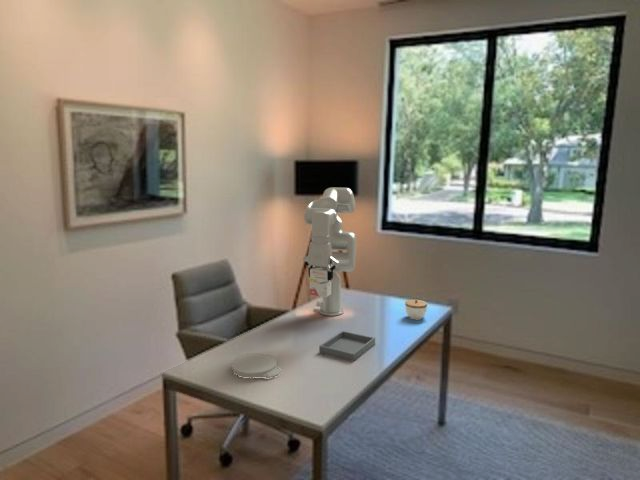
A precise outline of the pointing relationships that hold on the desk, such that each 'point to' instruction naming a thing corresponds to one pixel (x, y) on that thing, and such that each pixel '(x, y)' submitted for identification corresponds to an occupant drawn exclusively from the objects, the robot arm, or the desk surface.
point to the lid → (256, 366)
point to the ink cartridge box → (319, 282)
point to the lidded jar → (416, 308)
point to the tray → (347, 345)
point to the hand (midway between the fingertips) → (320, 278)
